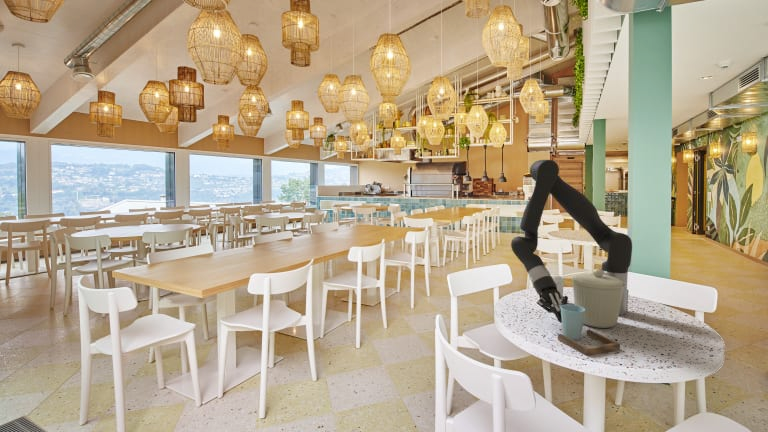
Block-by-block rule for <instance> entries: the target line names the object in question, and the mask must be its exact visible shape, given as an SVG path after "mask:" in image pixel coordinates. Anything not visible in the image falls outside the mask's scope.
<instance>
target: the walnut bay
mask: <svg viewBox="0 0 768 432" xmlns="http://www.w3.org/2000/svg"><path fill="white" fill-rule="evenodd" d="M585 334H586V336H587V337H589V338H591V339H594V341H597V342H599V343H601V344H598V345H593V346H592V345H591V346H587V347H586V346H585V345H583V344H581V343H579V342H577V340H572V339H570V338H568V337H566V336H564V335H563V333H558V334H557V340H558V341H559V342H561V343H563V344H565V345H566V346H568V347H570V348H572V349H574V350H575V351H578V352H579V353H580V354H582V355H585V356H592V355H598V354H605V353H609V352H616V351H620V350H621V343H619V342H617V341H615V340H613V339H610V338H609V337H606V336H604V335H602V334H600V333H598V332H595V331H593V330H591V329H586V333H585Z"/></svg>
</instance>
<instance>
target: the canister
mask: <svg viewBox="0 0 768 432" xmlns="http://www.w3.org/2000/svg"><path fill="white" fill-rule="evenodd" d="M570 281H571V282H572V288H573V290H572V291H573V301H574V305H577V306H580V307H583V308H584V309H585V315H584V321H583V325H585V326H588V327H592V328H598V329H599V328H600V329H608V328H612V327H614V326H615V325H616V324H617V322H618V319H619V316H620V315H619V311H620V306H621V300H622V295H623V289H624V287H626V284H625V283H624V282H623V281H621V280H620V279H618V278H615V277H612V276H608V275H603V271H602V268H594V269H593V270H592V272H591V273H579V274H575V275H574V276H572V277H570Z"/></svg>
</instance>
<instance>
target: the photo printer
mask: <svg viewBox="0 0 768 432" xmlns="http://www.w3.org/2000/svg"><path fill="white" fill-rule="evenodd" d="M551 276H552V278H553V280H554V282H555V284H556V286H557V290H558V291H559V292H560V294H561V295H562V296H564V278H563V277H562V275H558V274H554V275H553V274H552V275H551Z"/></svg>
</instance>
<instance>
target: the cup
mask: <svg viewBox="0 0 768 432" xmlns="http://www.w3.org/2000/svg"><path fill="white" fill-rule="evenodd" d="M584 315H585V309H584V308H583V307H580V306H577V305H575V304H570V303H569V304H568V303H567V304H566V305H561V319H562V323H561V330H562V335H564V336H566V337H568V338H570V339H572V340H574V341H579V340H581V337H582V334H583V333H582V331H583V325H584V324H583V321H584Z"/></svg>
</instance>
